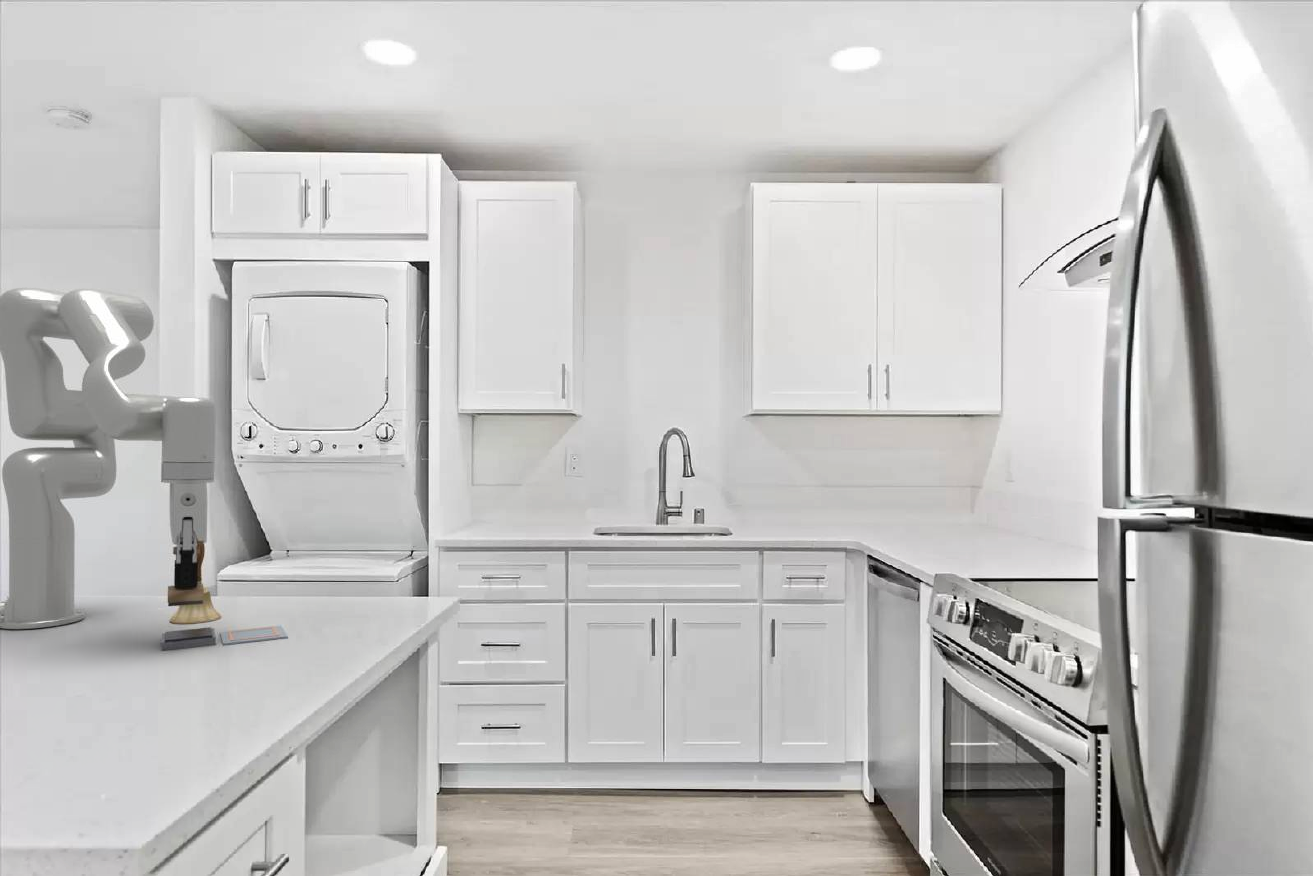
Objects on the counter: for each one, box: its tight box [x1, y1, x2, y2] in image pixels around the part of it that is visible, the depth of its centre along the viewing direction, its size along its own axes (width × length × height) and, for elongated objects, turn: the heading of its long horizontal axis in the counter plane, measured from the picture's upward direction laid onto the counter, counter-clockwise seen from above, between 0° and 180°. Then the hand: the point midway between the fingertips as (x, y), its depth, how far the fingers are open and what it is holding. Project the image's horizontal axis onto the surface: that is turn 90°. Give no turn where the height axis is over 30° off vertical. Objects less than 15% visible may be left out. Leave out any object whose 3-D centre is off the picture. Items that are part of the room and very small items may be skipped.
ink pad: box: [160, 627, 217, 651], centre depth 134 cm, size 8×8×2 cm
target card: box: [219, 625, 289, 646], centre depth 139 cm, size 10×10×1 cm
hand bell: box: [169, 539, 222, 625], centre depth 152 cm, size 8×8×16 cm
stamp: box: [167, 546, 204, 607], centre depth 134 cm, size 5×5×9 cm
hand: (185, 584), depth 134 cm, fingers closed on stamp, 3 cm apart
